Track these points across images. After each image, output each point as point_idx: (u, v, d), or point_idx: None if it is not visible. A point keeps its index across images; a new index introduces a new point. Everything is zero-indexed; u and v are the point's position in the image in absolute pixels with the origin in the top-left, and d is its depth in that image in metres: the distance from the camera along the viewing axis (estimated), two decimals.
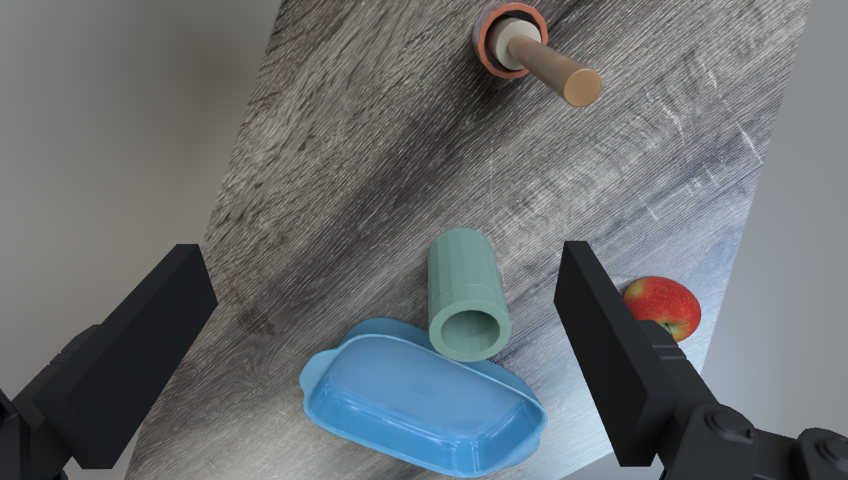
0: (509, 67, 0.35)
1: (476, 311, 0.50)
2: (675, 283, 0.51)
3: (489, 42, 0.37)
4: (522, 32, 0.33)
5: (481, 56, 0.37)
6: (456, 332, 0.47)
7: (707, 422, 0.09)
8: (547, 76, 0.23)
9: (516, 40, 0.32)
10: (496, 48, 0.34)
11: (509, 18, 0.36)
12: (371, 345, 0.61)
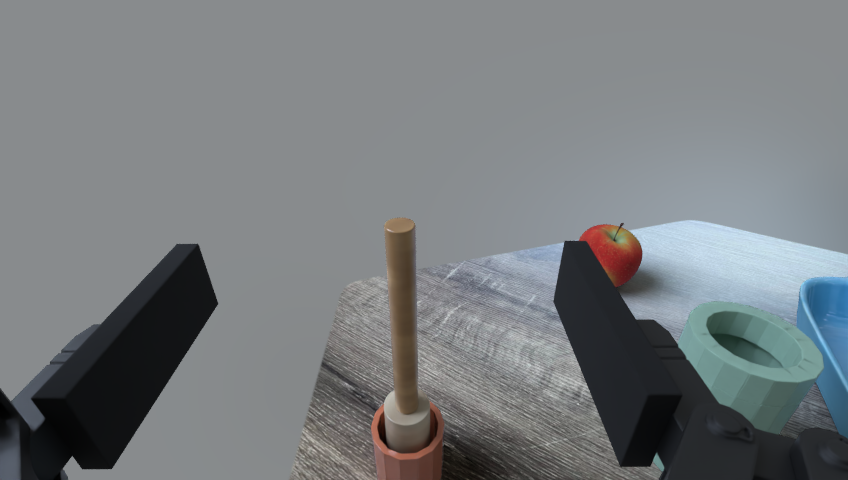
0: (428, 407, 0.33)
1: None
2: None
3: None
4: (394, 404, 0.33)
5: (426, 452, 0.32)
6: None
7: (707, 422, 0.09)
8: (403, 276, 0.26)
9: (398, 394, 0.31)
10: (412, 424, 0.32)
11: (386, 437, 0.34)
12: None
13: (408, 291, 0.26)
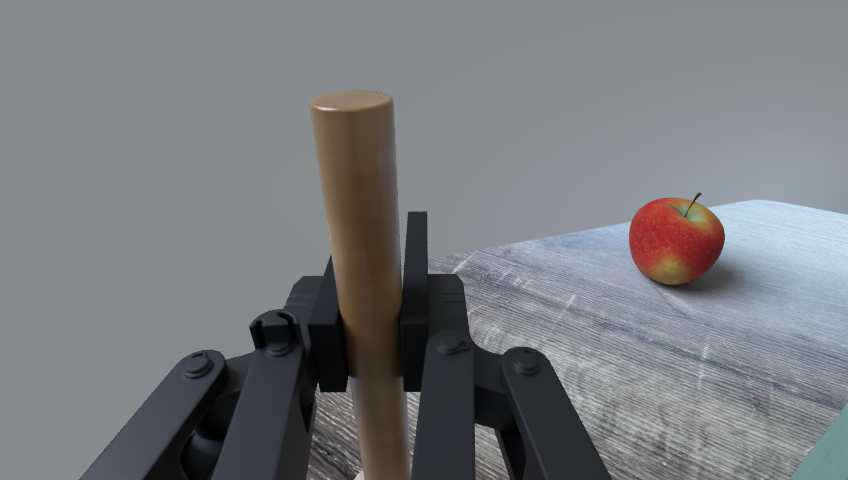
0: None
1: None
2: (631, 241, 0.43)
3: None
4: None
5: None
6: None
7: (438, 349, 0.11)
8: (366, 241, 0.10)
9: None
10: None
11: None
12: None
13: (380, 279, 0.11)
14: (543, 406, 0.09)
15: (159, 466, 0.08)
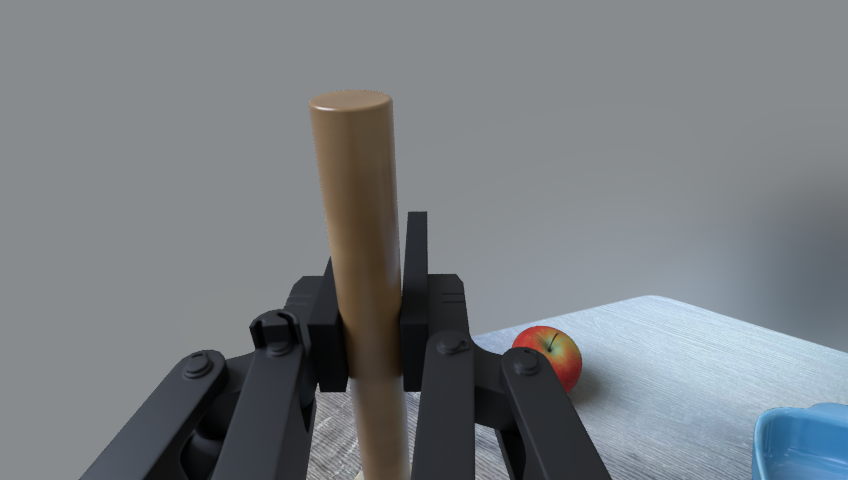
0: None
1: None
2: None
3: None
4: None
5: None
6: None
7: (438, 349, 0.11)
8: (365, 241, 0.10)
9: None
10: None
11: None
12: None
13: (380, 280, 0.11)
14: (543, 406, 0.09)
15: (159, 466, 0.08)
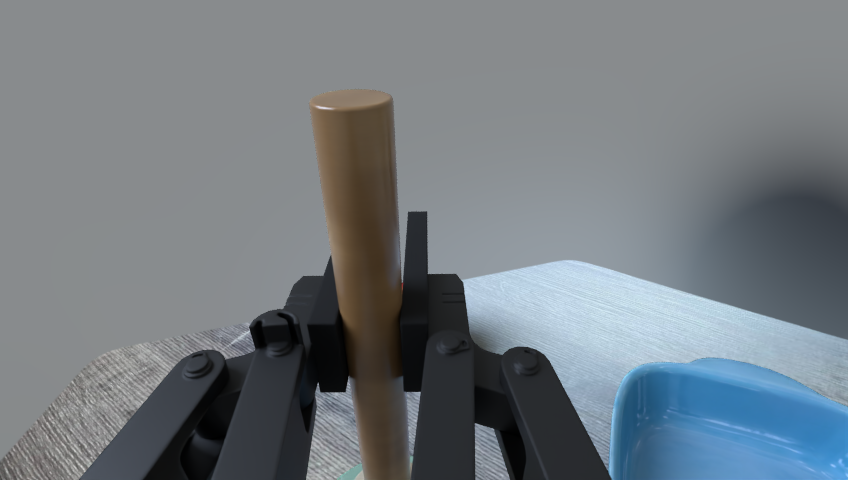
0: None
1: None
2: None
3: None
4: None
5: None
6: None
7: (438, 349, 0.11)
8: (365, 240, 0.10)
9: None
10: None
11: None
12: None
13: (380, 279, 0.11)
14: (543, 406, 0.09)
15: (159, 466, 0.08)
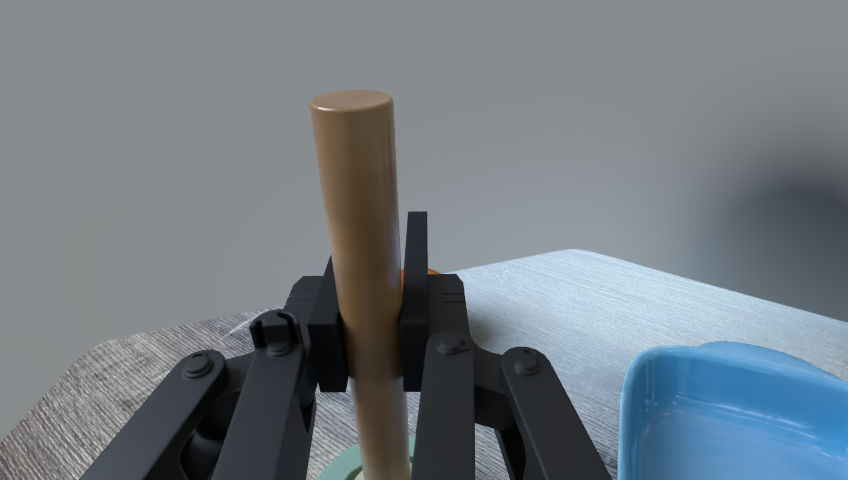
0: None
1: None
2: None
3: None
4: None
5: None
6: None
7: (438, 349, 0.11)
8: (365, 241, 0.10)
9: None
10: None
11: None
12: None
13: (380, 280, 0.11)
14: (543, 406, 0.09)
15: (159, 466, 0.08)
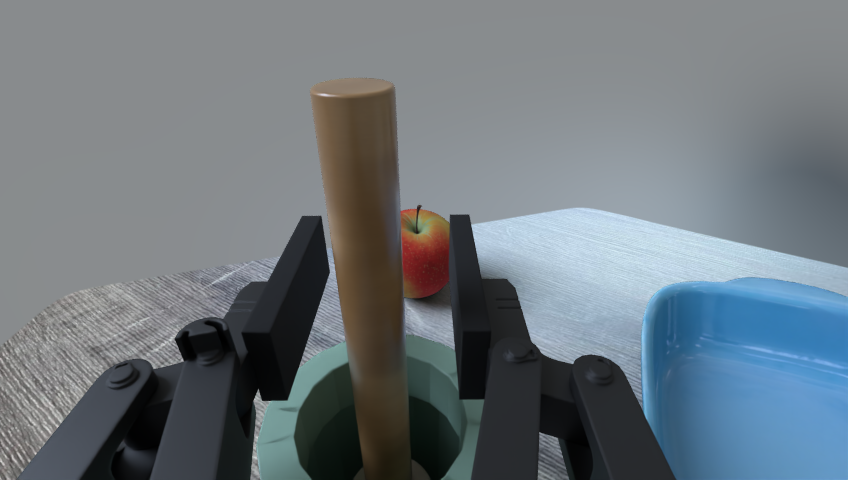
0: None
1: None
2: None
3: None
4: None
5: None
6: None
7: (505, 355, 0.10)
8: (367, 232, 0.10)
9: None
10: None
11: None
12: None
13: (382, 271, 0.11)
14: (615, 418, 0.09)
15: (88, 477, 0.08)
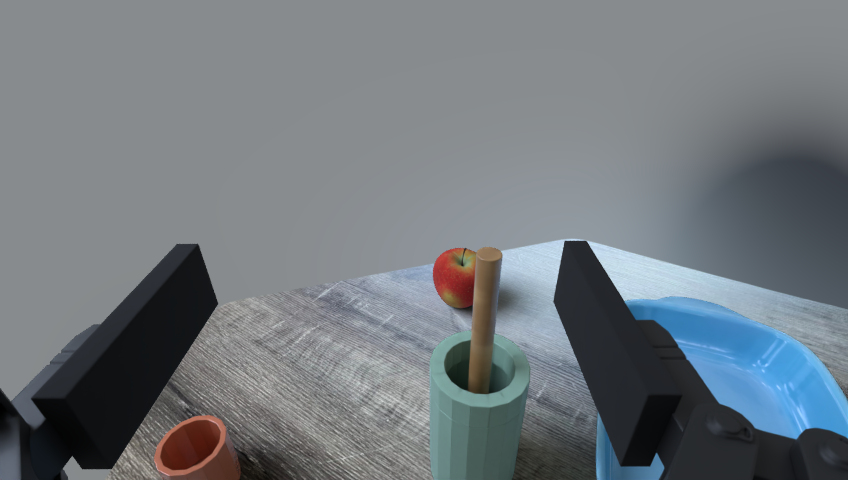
0: None
1: None
2: None
3: None
4: None
5: (196, 469, 0.36)
6: None
7: (708, 422, 0.09)
8: (490, 296, 0.30)
9: None
10: None
11: None
12: None
13: (492, 308, 0.31)
14: None
15: None
